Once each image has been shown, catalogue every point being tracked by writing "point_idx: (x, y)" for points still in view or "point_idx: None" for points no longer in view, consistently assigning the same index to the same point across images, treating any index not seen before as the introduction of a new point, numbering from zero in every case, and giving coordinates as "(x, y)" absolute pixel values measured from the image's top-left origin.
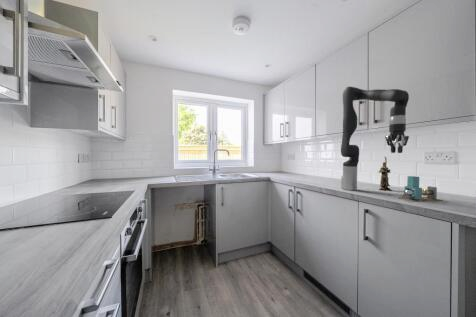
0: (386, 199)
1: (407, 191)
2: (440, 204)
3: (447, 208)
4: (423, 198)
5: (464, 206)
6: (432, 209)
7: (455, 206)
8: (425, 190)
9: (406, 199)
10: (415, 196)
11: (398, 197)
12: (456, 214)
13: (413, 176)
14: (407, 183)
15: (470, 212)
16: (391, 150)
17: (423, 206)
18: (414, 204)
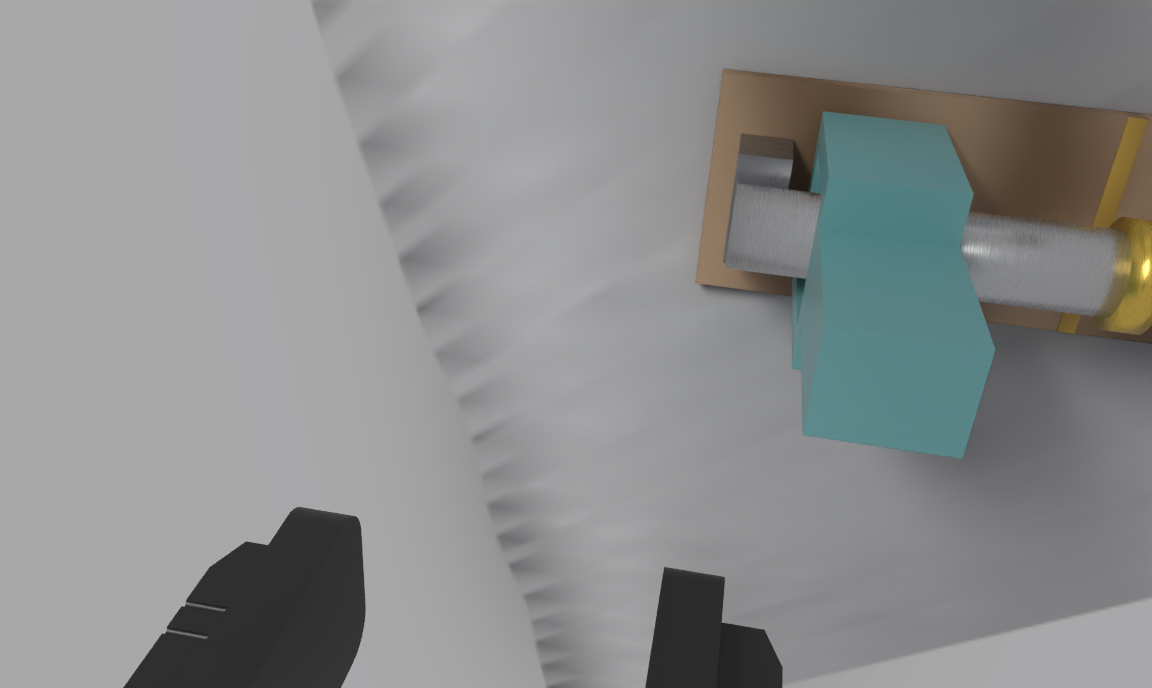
0: (450, 104)
1: (728, 256)
2: (911, 455)
3: (743, 565)
4: (1080, 224)
5: (1086, 571)
6: (529, 547)
7: (967, 546)
8: (1118, 308)
9: (705, 214)
10: (793, 298)
11: (721, 87)
12: (560, 672)
13: (899, 393)
14: (820, 256)
15: None
16: (211, 612)
17: (568, 462)
18: (562, 385)
